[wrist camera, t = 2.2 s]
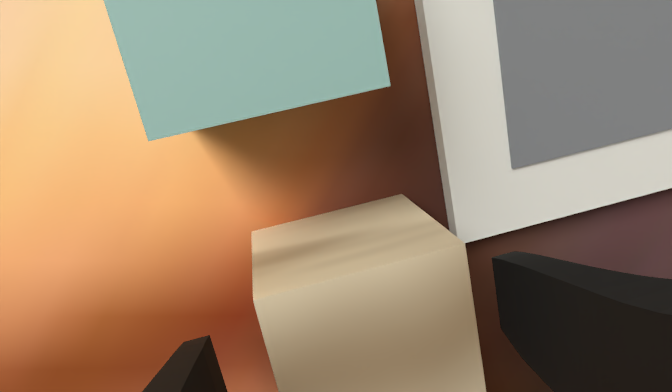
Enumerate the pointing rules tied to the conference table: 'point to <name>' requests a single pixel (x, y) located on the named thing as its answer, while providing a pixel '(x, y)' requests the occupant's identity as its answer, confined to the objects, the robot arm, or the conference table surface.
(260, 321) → the maple cube
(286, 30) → the teal cube
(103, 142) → the conference table surface
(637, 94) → the white flat square plate
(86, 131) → the conference table surface
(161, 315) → the conference table surface
